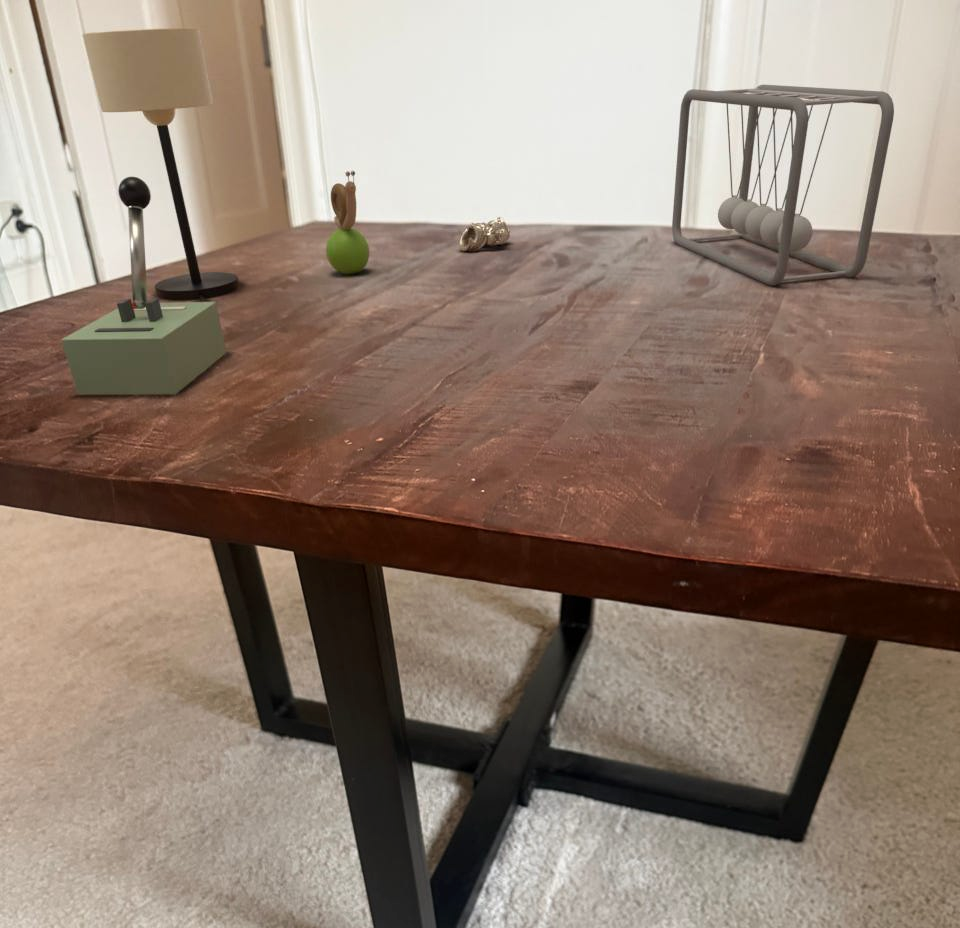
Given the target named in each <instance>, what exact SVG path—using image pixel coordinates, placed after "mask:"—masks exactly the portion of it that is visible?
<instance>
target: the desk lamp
mask: <svg viewBox="0 0 960 928" xmlns="http://www.w3.org/2000/svg"><path fill="white" fill-rule="evenodd" d="M200 31H201V30H200V28H199V27H168V28H145V29H144V28H143V29H142V28H141V29H126V30H125V29H124V30H109V31H108V30H107V31H97V32H85V33H82V39H83V43H84V47H85V50H86V54H87V59H88V62H89V66H90V70H91V74H92V79H93V82H94V86H95V89H96V90H95V91H96V94H97V99H98V103H99V106H100V110H101V113H135V112H142V114H143V116H144V118H145V119H146V121H148V122H149V123H150V124H152V125H153V126H156V129H157V134H158V138H159V143H160V147H161V151H162V152H161V153H162V156H163V160H164V165H165V169H166V174H167V178H168V182H169V188H170V193H171V197H172V201H173V205H174V209H175V214H176V218H177V224H178V227H179V232H180V238H181V241H182V246H183V251H184V255H185V259H186V263H187V268H188V272H189V273H187V274H181V275H175V276H172V277H169V278H168V277H167V278H165V279H162V280H159V281H158V282H156V283H155V284H154V289H155V294H156V298H158V299H161V300H165V301H166V300H167V301H197V300H198V302H207V300H206V299H210V298H216V297H221V296H224V295H229V294H231V293H233V292H235V291H237V290H238V289H240V282H239V281H240V280H239V276H238V275H236V274H234V273H231V272H225V271H224V272H223V271H210V272H209V271H207V272H206V271H205V272H201V271H200V267H199V263H198V258H197V254H196V253H197V252H196V250H195V249H196V248H195V244H194V239H193V236H192V231H191V230H192V229H191V225H190V222H189V221H190V220H189V216H188V211H187V208H186V203H185V199H184V194H183V189H182V185H181V180H180V176H179V170H178V167H177V166H178V165H177V161H176V157H175V151H174V147H173V142H172V139H171V138H172V137H171V134H170V129H169V125H170V124H171V123H172V122H173V121H174V118H175V116H176V110H177V109H179V110H180V109H188V108H198V107H199V108H200V107H206V106H211V105H213V104H214V101H213V95H212V89H211V85H210V79H209V73H208V68H207V63H206V60H205V59H206V58H205V54H204V53H205V52H204V47H203V42H202V36H201V32H200Z"/></svg>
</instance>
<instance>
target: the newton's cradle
mask: <svg viewBox="0 0 960 928" xmlns="http://www.w3.org/2000/svg"><path fill="white" fill-rule="evenodd" d="M693 101H698V102H707V103H708V102H709V103H718V104H726V120H727V138H728V141H727V142H728V155H729V156H728V159H729V172H730V173H729V175H730V194H731V195H730V196H731V197H729V198H727V199H725V200H724V201H722V203H720V206H719V208H718V210H717V220H718V222H719V224H720V225H721V227H723V228H724V229H725V230H726V229H727V230H734V231H735V232H736V233H732V234H722V235H710V236H699V237H685V236H683V234H682V229H681V228H682V226H681V225H682V214H683V213H682V212H683V202H684V201H683V199H684V189H685V188H684V187H685V176H686V175H685V173H686V162H687V161H686V160H687V148H688V137H689V136H688V135H689V121H690V110H691V104H692V102H693ZM849 103H858V104H866V105H867V104H869V105H879V107H880V109H881V110H880V111H881V116H880V117H881V119H880V123H879V129H878V134H877V140H876V145H875V151H874V157H873V162H872V168H871V172H870V178H869V183H868V188H867V195H866V199H865V200H866V201H865V204H864V209H863V214H862V215H863V216H862V221H861V226H860V232H859V238H858V243H857V249H856V253H855V259H854V262H853V264H852V266H849V265H846V264H843V263H840V262H838V261H835V260H832V259H829V258H827V257H823V256H820V255H818V254H815V253H812V252H810V251H807V250H804V248H805V247H806V246H807V245H809V243H810V242H811V239H812V237H813V226H812V223H811V221H810V220H809V218H807V217H805V216H803V215H802V213H803V209H804V207H805V206H804V205H805V203H806V199H807V196H808V192H809V188H810V185H811V181H812V179H813V174H814V172H815V168H816V164H817V162H818V161H817V160H818V158H819V153H820V150H821V147H822V145H823V140H824V137H825V133H826V130H827V127H828V123H829V119H830V116H831V113H832V109H833V105H835V104H849ZM729 105H736V106H740V113H741V134H742V135H741V136H742V138H741V139H742V157H743V158H742V168H741V176H740V182H739V186H738V190H737V193H736V194H734V193H733V177H732V176H733V175H732V173H733V172H732V155H731V154H732V153H731V138H730V117H729ZM818 105H830V107H829V111H828V114H827V118H826V121H825V124H824V128H823V132H822V135H821V139H820V143H819V146H818V149H817V153H816V155H815V159H814V163H813V167H812V170H811V174H810V176H809V180H808V184H807V188H806V190H805V194H804V197H803V201H802V205H801V208H800V212H799V213H796V211H797V203H798V197H799V190H800V183H801V175H802V170H803V169H802V168H803V162H804V154H805V147H806V143H807V141H806V140H807V135H808V127H809V120H810V117H811V115H812V111H813V108H814V106H818ZM743 106H745V107H746V106H747V107H748V113H747V123H746V133H745V132H744V111H743ZM808 106H810V109H809V110H808ZM763 108H765V109H766V108H767V109H772V120H771V125H770V129H769V133H768V136H767V140H766V143H765V146H764V151H763V154H762V158H760V157H761V156H760V153H761V152H760V129H759V128H760V126H759V118H760V115H761V111H762V109H763ZM778 110H786V111H790V117H789V121H788V124H787V127H786V131H785V134H784V138H783V142H782V145H781V149H780V151H779V154H778V155H779V156H778V159H777V158H776V157H777V155H776V115H777V111H778ZM794 114H795V129H794V128H793V126H794V125H793V123H794V122H793V115H794ZM894 117H895V107H894V102H893V99H892V96H890V94H889V93H888V92H885V91H883V90H881V91H880V90H866V89H865V90H863V89H846V88H828V87H815V86H814V87H813V86H797V85H796V86H795V85H777V84H759V85H758V86H756V87H755V88H742V89H741V88H740V89H727V90H708V89H695V88H691V89H689V90H687V91H686V93H684V95H683V97H682V101H681V104H680V112H679V124H678V125H679V126H678V127H679V128H678V138H677V152H676V153H677V154H676V168H675V179H674V180H675V182H674V194H673V207H672V209H673V210H672V221H671V222H672V223H671V233H672V238H673V240H674V242H675V244H677V245H678V246H680V247H683V248H685V249H686V250H688V251H692V252H694V253H696V254H698V255H700V256H702V257H704V258H707V259H709V260H712V261H713V262H716V263H718V264H720V265H723V266H725V267H728V268H729V269H731V270H734V271H735V272H738V273H740V274H743V275H745V276H747V277H750V278H752V279H753V280H756V281H758V282H761V283H762V284H765V285H767V286H771V287H776V286H778V285H780V284H781V283H782V282H789V281H798V280H806V279H807V280H808V279H818V278H826V277H827V278H828V277H836V276H837V277H838V276H842V277H844V278H848V279H854V278H855V277H857V276H859V275H860V274H861V272H862V271H863V270H864V267H865V265H866V262H867V259H868V253H869V247H870V242H871V237H872V233H873V228H874V227H873V226H874V222H875V217H876V211H877V207H878V206H877V205H878V201H879V196H880V192H881V185H882V180H883V176H884V170H885V164H886V159H887V154H888V150H889V149H888V148H889V144H890V138H891V134H892V129H893V128H892V127H893V123H894ZM789 128H790V135H791V136H790V137H791V138H790V139H791V157H790V158H791V159H790V167H789V173H788V181H787V188H786V192H785V195H784V198H783V201H782V206H781V208H779V207H778V196H777V195H778V194H777V193H778V191H777V171H778V167H779V163H780V160H781V156H782V152H783V149H784V146H785V142H786V138H787V135H788V131H789ZM772 129H773V163H774V164H773V165H774V166H773V167H774V172H773V173H774V174H773V177H772V181H771V184H770V187H769V191H768V194H767V198H766V202H765V203H762V186H761V185H762V184H761V169H762V166H763V162H764V158H765V155H766V151H767V148H768V144H769V140H770V137H771V133H772ZM794 130H795V131H794ZM756 131H757V132H756ZM756 133H757V158H758V159H757V160H758V161H757V163H758V173H757V176H756V179H755V182H754V187H753V189H752V194H751V197H750V199H749V191H750V183H751V182H750V181H751V172H752V166H753V165H752V164H753V163H752V162H753V157H754V156H753V154H754V147H755V138H756ZM757 184H758V185H759V186H758V187H759V189H758V190H759V204H758V203H757V202H755V201H753V198H754V195H755V191H756V188H757ZM773 184H774V200H775V202H774V203H775V205H774V206H775V209H774V208H773V207H771V206H769V205H768V204H769V203H768V202H769V198H770V195H771V192H772V189H773ZM783 209H784V210H783ZM739 237H740V238H741V239H743V240H746V241H748V242H752V243H754V244H757V245H760V246H762V247H764V248H767V249H770V250H772V251H775V252H778V254H777V260H776V267H775V271H774V274H773V273H770V272H767V271H765V270H762V269H761V268H759V267H756V266H753V265H751V264H748V263H746V262H744V261H741V260H740V259H738V258H735V257H732V256H730V255H727V254H725V253H723V252H721V251H718V250H715V249H713V248H711V247H708V246H706V245H704V244H702V243H699V241H708V240H719V239H729V238H739ZM790 257H791V258H794V259H796V260H799V261H802V262H805V263H807V264H810V265H812V266H815V267H817V268H820V269H822V270H826V271H828V272H823V273H812V274H811V273H810V274H803V275H802V274H801V275H792V276H786V274H787V271H788V266H789V260H790V259H789V258H790Z"/></svg>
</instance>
